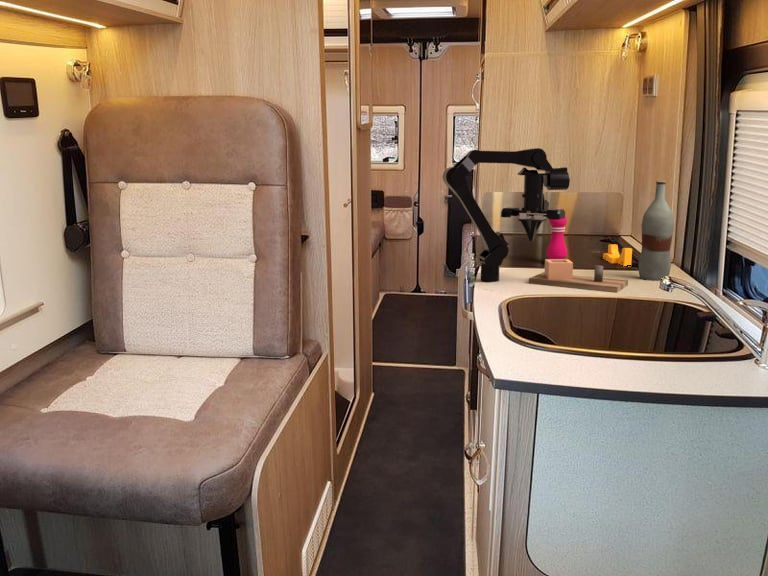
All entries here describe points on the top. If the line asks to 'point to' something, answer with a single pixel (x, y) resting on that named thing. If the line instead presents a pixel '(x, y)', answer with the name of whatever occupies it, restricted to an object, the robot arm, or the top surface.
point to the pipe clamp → (615, 257)
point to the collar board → (583, 281)
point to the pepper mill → (557, 240)
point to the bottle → (656, 237)
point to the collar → (558, 269)
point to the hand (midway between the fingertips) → (531, 241)
